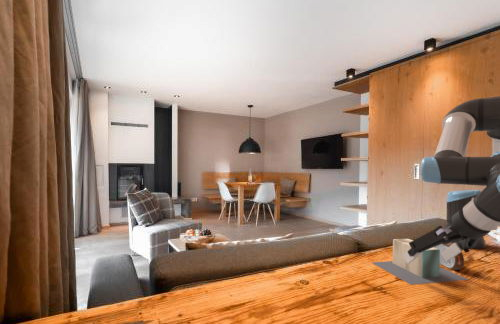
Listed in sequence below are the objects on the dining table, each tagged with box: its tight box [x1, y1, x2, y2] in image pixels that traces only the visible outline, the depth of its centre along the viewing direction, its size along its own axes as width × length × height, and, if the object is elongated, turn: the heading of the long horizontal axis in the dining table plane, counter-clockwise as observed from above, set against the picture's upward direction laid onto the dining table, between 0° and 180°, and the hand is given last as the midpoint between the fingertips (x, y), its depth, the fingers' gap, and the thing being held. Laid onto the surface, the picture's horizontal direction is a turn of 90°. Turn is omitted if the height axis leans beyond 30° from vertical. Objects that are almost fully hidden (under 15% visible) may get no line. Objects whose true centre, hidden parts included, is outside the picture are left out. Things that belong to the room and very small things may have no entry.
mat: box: [370, 260, 470, 285], centre depth 86 cm, size 20×17×1 cm
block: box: [392, 238, 441, 278], centre depth 87 cm, size 6×8×12 cm
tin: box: [434, 243, 465, 271], centre depth 92 cm, size 15×3×8 cm, turn 179°
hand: (425, 258), depth 83 cm, fingers open, 13 cm apart
